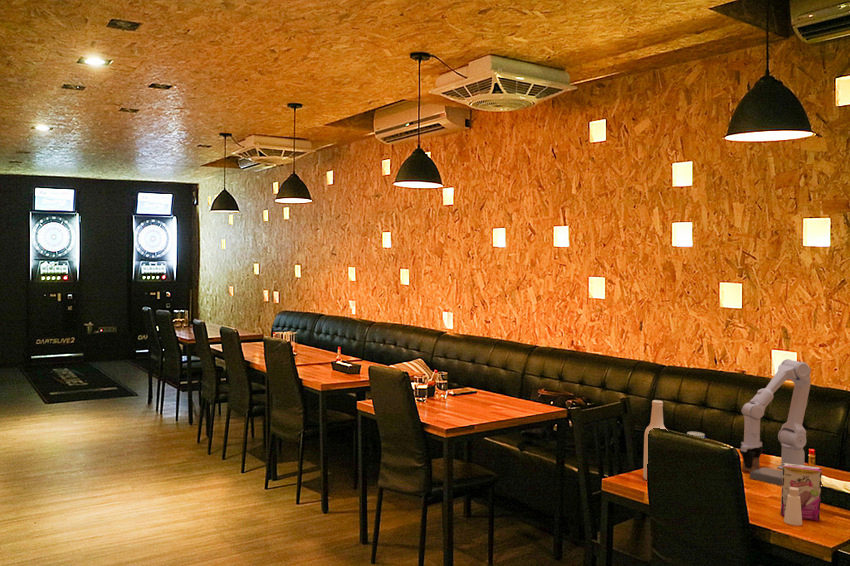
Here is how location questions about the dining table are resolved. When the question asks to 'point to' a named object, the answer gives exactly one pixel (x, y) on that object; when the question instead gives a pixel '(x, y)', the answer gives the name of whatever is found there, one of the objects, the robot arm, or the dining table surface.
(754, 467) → the block
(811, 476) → the candy bar box
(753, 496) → the dining table surface
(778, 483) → the tray
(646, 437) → the alcohol
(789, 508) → the salt shaker
